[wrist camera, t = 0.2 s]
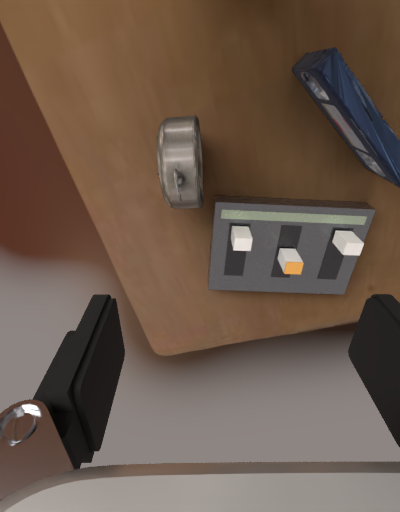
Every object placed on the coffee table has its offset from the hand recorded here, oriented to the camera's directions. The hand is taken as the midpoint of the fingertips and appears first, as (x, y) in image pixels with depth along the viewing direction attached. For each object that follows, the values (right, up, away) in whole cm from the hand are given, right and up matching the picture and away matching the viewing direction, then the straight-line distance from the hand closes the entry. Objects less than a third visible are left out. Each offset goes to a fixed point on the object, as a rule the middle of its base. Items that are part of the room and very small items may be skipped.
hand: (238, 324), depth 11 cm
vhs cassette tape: (+17, +22, +30) cm, 41 cm away
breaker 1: (+5, +6, +35) cm, 35 cm away
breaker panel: (+12, +5, +40) cm, 42 cm away
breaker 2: (+21, +6, +35) cm, 41 cm away
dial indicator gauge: (-4, +17, +32) cm, 37 cm away
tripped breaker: (+12, +3, +37) cm, 39 cm away
